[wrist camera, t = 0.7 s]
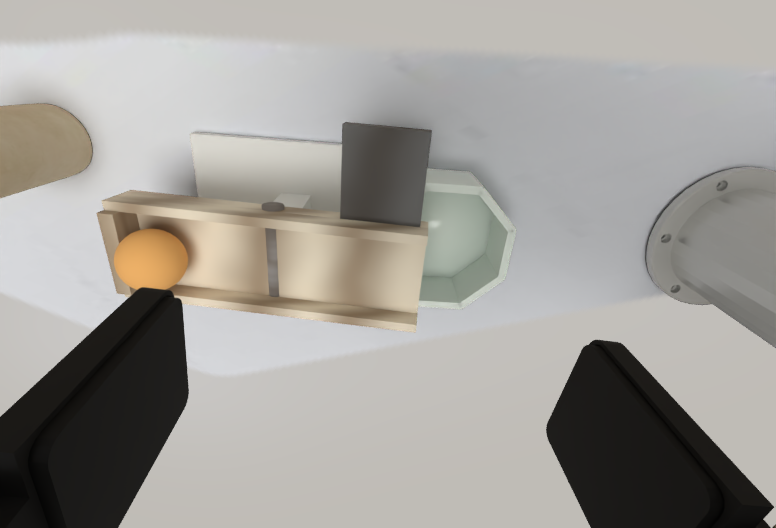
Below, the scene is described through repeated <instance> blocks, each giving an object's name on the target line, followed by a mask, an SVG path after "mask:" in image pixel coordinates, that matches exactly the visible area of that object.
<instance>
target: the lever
mask: <svg viewBox="0 0 776 528" xmlns="http://www.w3.org/2000/svg"><path fill="white" fill-rule="evenodd" d="M431 133H432V130H424V129H414V128H403V127H392V126H382V125H371V124H360V123H350V122H345V123H343V126H342V164H341V202H340V212H332V211H322V210H313V209H304V208H295V207H285V206H284V204H282V203H279V202H267V203H263V204H257V203H248V202H239V201H229V200H220V199H211V198H201V197H192V196H183V195H174V194H164V193H155V192H146V191H136V190H130V191H127V192H124V193H121V194H119V195H116V196H113V197H110V198H108V199H105V200H102V204H103V208H104V210H103V211H100V212H98V213H97V217H98V221H99V225H100V228H101V232H102V236H103V240H104V244H105V248H106V252H107V256H108V260H109V264H110V268H111V272H112V276H113V280H114V284H115V287H116V291H117V293H118V294H125V297H130V296H131V295H132V294H133V293H134V292H135V291H136V289H134V288H132V287H130V286H128V285H127V284H125V283H124V282H123V281H122V280H121V279H120V277H119V276H118V274H117V272H116V270H115V266H114V254H115V251H116V248H117V246H118V245H119V243H120V242H121V241H122V240H123V239H124V238H125V237H126V236H128V235H129V234H131V233H133V232H135V231H138V230H142V229H159V230H163V231H166V232H169V233H171V234H172V235H174V236H175V237H176V238H178V239H179V240H180V241H181V242H182V244H183V245H184V247H185V249H186V252H187V255H188V266H187V269H186V272H185V274H184V276H183V277H182V278H181V280H180V281H179V282H178V283H176V284H175V285H174V286H172V287H170V288H168V289H166V290H170V291H172V292H173V294H174V298H180V299H181V301H182V304H189V305H197V306H205V307H213V308H221V309H229V310H237V311H245V312H253V313H261V314H269V315H277V316H285V317H293V318H301V319H309V320H317V321H325V322H333V323H342V324H350V325H358V326H366V327H374V328H382V329H390V330H398V331H406V332H414V333H415V332H416V324H417V311H418V303H419V296H420V288H421V280H422V272H423V265H424V257H425V249H426V246H427V241H428V222H425V221H421V216H422V208H423V199H424V191H425V183H426V174H427V166H428V158H429V150H430V141H431Z"/></svg>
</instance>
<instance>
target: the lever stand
mask: <svg viewBox="0 0 776 528" xmlns="http://www.w3.org/2000/svg"><path fill="white" fill-rule="evenodd" d="M190 141H191V149H192V156H193V163H194V171H195V178H196V186H197V193H198V197H201V198H211V199H220V200H229V201H239V202H248V203H257V204H263V203H267V202H279V203H282V204H284V206H285V207H295V208H304V209H313V210H322V211H332V212H340V202H341V164H342V144H339V143H327V142H314V141H302V140H289V139H277V138H264V137H252V136H239V135H227V134H214V133H202V132H193V133H190Z"/></svg>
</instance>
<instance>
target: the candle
mask: <svg viewBox="0 0 776 528" xmlns="http://www.w3.org/2000/svg"><path fill="white" fill-rule="evenodd" d="M91 158H92V145H91V141H90V138H89V136H88V133H87V132H86V130H85V128H84V127H83V126H82V124H81V123H80V122H79V121H78V120H77V119H76V118H75V117H74V116H73V115H71V114H70V113H69V112H67V111H66V110H64V109H62V108H60V107H57V106H54V105H49V104H22V105H9V106H0V198H3V197H6V196H9V195H12V194H15V193H19V192H22V191H25V190H28V189H31V188H35V187H38V186H41V185H44V184H47V183H51V182H54V181H57V180H60V179H63V178H67V177H70V176H73V175H75V174H78V173H80V172H81V171H83V170H84V169H85V168H86V167H87V166H88V165H89V163H90V161H91Z"/></svg>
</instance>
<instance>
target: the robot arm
mask: <svg viewBox="0 0 776 528" xmlns="http://www.w3.org/2000/svg"><path fill="white" fill-rule="evenodd" d="M646 262H647V267H648V272H649V274H650V276H651V278H652V280H653V282H654V283H655V284H656V285H657V286H658V287H659V288H660V289H661V290H662V291H663V292H665V293H666V294H667V295H669V296H670V297H672V298H674V299H676V300H678V301H681V302H685V303H688V304H696V305H697V304H698V305H708V304H713V305H715V306H716V307H718V308H719V309H720V310H722V311H723V312H725V313H726V314H728V315H729V316H730V317H732V318H733V319H735V320H736V321H738V322H739V323H741V324H742V325H743V326H745V327H746V328H748V329H749V330H751V331H752V332H753V333H755V334H757V335H758V336H759V337H761V338H762V339H763V340H765V341H766V342H768V343H769V344H771V345H772V346H774V347H775V348H776V171H772V170H768V169H764V168H756V167H741V168H732V169H729V170H725V171H722V172H718V173H715V174H713V175H711V176H709V177H706V178H704V179H702V180H700V181H699V182H697V183H695V184H694V185H692V186H691V187H689V188H688V189H686V190H685V191H684V192H683V193H682V194H680V195H679V196H678V197H677V198H676V199H674V200H673V202H672V203H671V204H670V205H669V206H668V207H667V208H666V209H665V211H664V212H663V213H662V215H661V216H660V218H659V219H658V221H657V222H656V224H655V226H654V228H653V230H652V233H651V235H650V237H649V242H648V246H647V253H646ZM188 391H189V389H188V376H187V362H186V349H185V335H184V322H183V308H182V301H181V299H180V298H174V294H173V292H172V291H170V290H164V289H155V288H146V287H141V288H139V289H138V290H136V291H135V292H134V293H133V294H132V295H131V296H130V297H129V298H128V299H127V300H126V301H125V302H124V303H122V304H121V305H120V306H119V307H118V308H117V309H116V310H115V311H114V312H113V313H112V314H111V315H110V316H109V317H107V318H106V319H105V320H104V321H103V322H102V323H101V324H100V325H99V326H98V327H97V328H96V329H95V330H93V331H92V332H91V333H90V334H89V335H88V336H87V337H86V338H85V339H84V340H83V341H82V342H81V343H79V344H78V345H77V346H76V347H75V348H74V349H73V350H72V351H71V352H70V353H69V354H68V355H67V356H66V357H65V358H64V359H62V360H61V361H60V362H59V363H58V364H57V365H56V366H55V367H54V368H53V369H51V371H49V372H48V373H47V374H46V375H45V376H44V377H43V378H42V379H41V380H40V381H39V382H37V383H36V385H34V386H33V387H32V388H31V389H30V390H29V391H28V392H27V393H26V394H25V395H23V396H22V397H21V398H20V399H19V400H18V401H17V402H16V403H15V404H14V405H13V406H12V407H11V408H9V409H8V410H7V411H6V412H5V413H4V414H3V415H2V416H1V417H0V528H118V527H119V525H120V523H121V521H122V520H123V518H124V516H125V514H126V513H127V511H128V509H129V507H130V505H131V503H132V502H133V500H134V498H135V496H136V494H137V492H138V491H139V489H140V487H141V486H142V484H143V482H144V480H145V478H146V477H147V475H148V473H149V471H150V469H151V467H152V466H153V464H154V462H155V460H156V459H157V457H158V455H159V453H160V451H161V450H162V448H163V446H164V444H165V442H166V441H167V439H168V437H169V435H170V433H171V432H172V430H173V428H174V426H175V424H176V423H177V421H178V419H179V417H180V415H181V414H182V412H183V410H184V408H185V406H186V403H187V399H188V394H189V392H188ZM546 431H547V437H548V440H549V442H550V444H551V446H552V448H553V450H554V453H555V455H556V457H557V459H558V461H559V463H560V465H561V467H562V469H563V471H564V473H565V475H566V477H567V479H568V482H569V484H570V486H571V488H572V490H573V492H574V494H575V496H576V498H577V500H578V502H579V504H580V506H581V508H582V510H583V512H584V515H585V517H586V519H587V521H588V523H589V525H590V527H591V528H770V527H769V525H768V524H767V523H766V522H765V521H764V520H763V519H764V517H765V516H766V515H767V514H768V513H769V512H770V511H771V510H772V509H773V508H774V506H773V505H772V504H771V503H770V502H769V501H768V500H767V499H766V498H765V497H764V496H763V495H762V493H761V492H760V491H759V490H758V489H757V488H756V487H755V486H754V485H753V484H752V483H751V482H750V481H749V480H748V478H747V477H746V476H745V475H744V474H743V473H742V472H741V471H740V470H739V469H738V468H737V466H736V465H735V464H734V463H733V462H732V461H731V460H730V459H729V458H728V457H727V456H726V455H725V454H724V453H723V451H722V450H721V449H720V448H719V447H718V446H717V445H716V444H715V443H714V442H713V441H712V440H711V439H710V437H709V436H708V435H707V434H706V433H705V432H704V431H703V430H702V429H701V428H700V427H699V426H698V425H697V424H696V422H695V421H694V420H693V419H692V418H691V417H690V416H689V415H688V414H687V413H686V412H685V411H684V409H683V408H682V407H681V406H680V405H678V403H677V402H676V401H675V400H674V399H673V398H672V397H671V396H670V395H669V393H668V392H667V391H666V390H665V389H664V388H663V387H662V386H661V385H660V384H659V383H658V382H657V380H656V379H655V378H654V377H653V376H652V375H651V374H650V373H649V372H648V371H647V370H646V369H645V368H644V366H642V364H641V363H640V362H639V361H638V360H637V359H636V358H635V357H634V356H633V355H632V354H631V353H630V352H629V350H628V349H627V348H626V347H625V346H624V345H623V344H621V343H618V342H611V341H603V340H594V341H592V342H591V343H590V344H589V345H586V346H585V347H584V348H583V349H582V351H581V353H580V355H579V357H578V359H577V362H576V364H575V366H574V368H573V370H572V372H571V374H570V377H569V379H568V381H567V383H566V385H565V387H564V389H563V391H562V394H561V396H560V398H559V400H558V402H557V404H556V406H555V408H554V410H553V413H552V415H551V417H550V419H549V421H548V423H547V429H546ZM773 528H776V525H775V526H774V527H773Z"/></svg>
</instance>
